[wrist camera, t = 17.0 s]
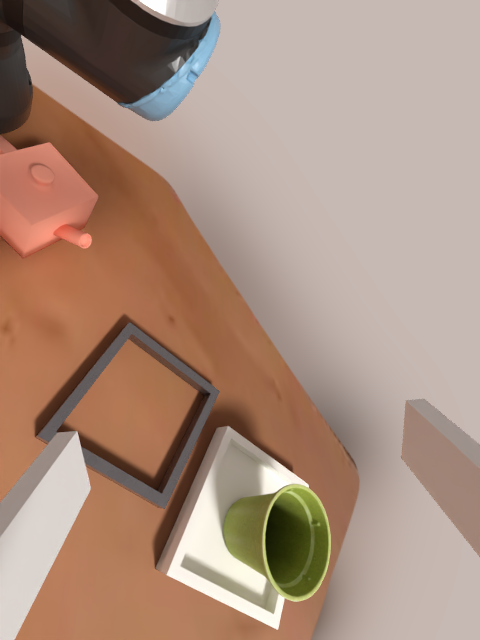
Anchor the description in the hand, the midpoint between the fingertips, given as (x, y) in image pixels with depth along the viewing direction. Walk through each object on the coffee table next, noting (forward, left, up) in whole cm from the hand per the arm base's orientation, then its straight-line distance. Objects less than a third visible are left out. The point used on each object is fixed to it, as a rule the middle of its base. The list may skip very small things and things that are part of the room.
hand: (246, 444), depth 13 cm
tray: (-2, +19, -25) cm, 31 cm away
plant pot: (-2, +20, -24) cm, 31 cm away
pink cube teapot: (-16, -19, -25) cm, 35 cm away
